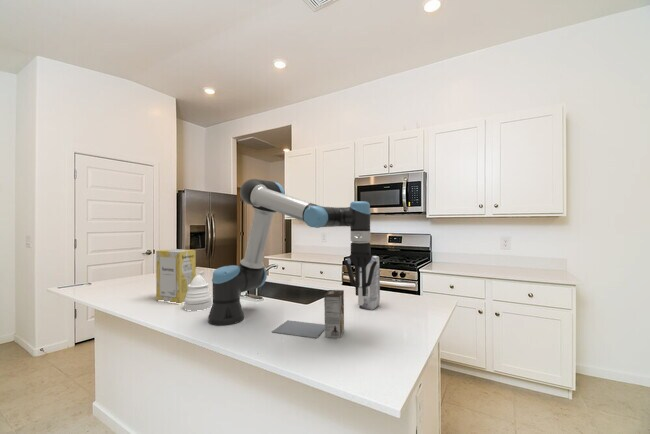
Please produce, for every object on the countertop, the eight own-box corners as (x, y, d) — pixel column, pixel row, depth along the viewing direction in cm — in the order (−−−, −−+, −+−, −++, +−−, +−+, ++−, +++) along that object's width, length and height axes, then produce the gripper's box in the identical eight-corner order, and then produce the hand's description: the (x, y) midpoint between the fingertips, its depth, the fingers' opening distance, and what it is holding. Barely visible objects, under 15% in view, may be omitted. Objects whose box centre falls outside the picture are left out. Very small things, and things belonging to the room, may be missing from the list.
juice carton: (381, 305, 153) (381, 253, 153) (373, 311, 144) (372, 255, 144) (365, 303, 158) (365, 252, 158) (356, 308, 149) (356, 254, 149)
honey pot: (202, 302, 161) (202, 269, 162) (216, 306, 154) (216, 271, 154) (179, 308, 151) (179, 273, 151) (193, 313, 143) (193, 275, 144)
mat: (271, 332, 118) (271, 331, 118) (287, 321, 131) (287, 320, 131) (316, 338, 111) (316, 337, 111) (328, 325, 124) (328, 325, 124)
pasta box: (156, 301, 165) (156, 250, 165) (172, 296, 175) (172, 249, 175) (179, 304, 158) (179, 252, 158) (195, 299, 168) (195, 250, 168)
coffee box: (328, 328, 121) (328, 289, 121) (344, 329, 120) (344, 290, 120) (324, 337, 112) (324, 295, 112) (341, 338, 111) (340, 295, 111)
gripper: (341, 242, 112) (341, 305, 111) (375, 243, 107) (376, 308, 107) (346, 241, 119) (347, 300, 118) (379, 241, 114) (379, 303, 114)
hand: (361, 304), depth 113 cm, fingers closed
